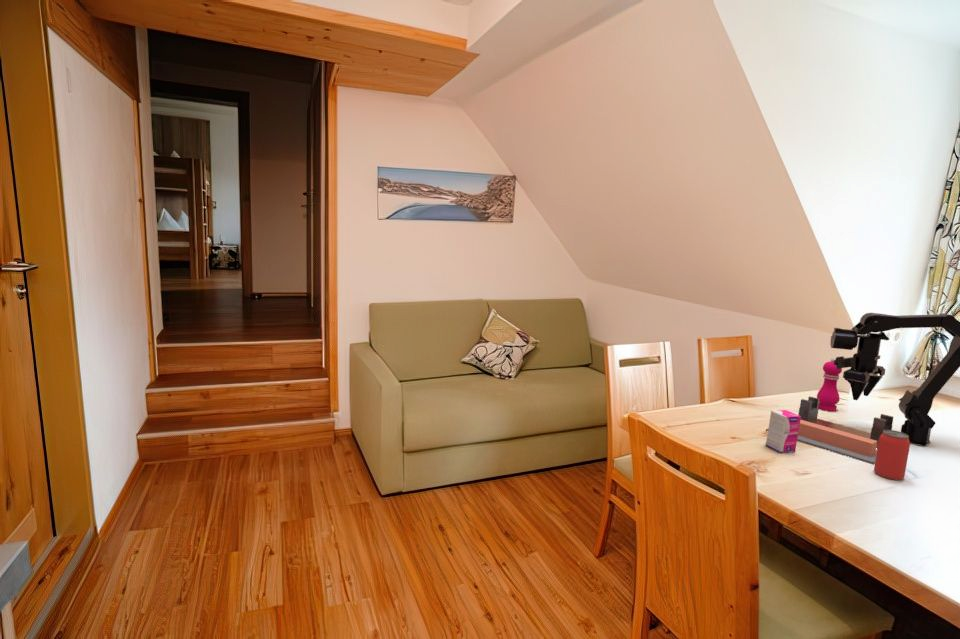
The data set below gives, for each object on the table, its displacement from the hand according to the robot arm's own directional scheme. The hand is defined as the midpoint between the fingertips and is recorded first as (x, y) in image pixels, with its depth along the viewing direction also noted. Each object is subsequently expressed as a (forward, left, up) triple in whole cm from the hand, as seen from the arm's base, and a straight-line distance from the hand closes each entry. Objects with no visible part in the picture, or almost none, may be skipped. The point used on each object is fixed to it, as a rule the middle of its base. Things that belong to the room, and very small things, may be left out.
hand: (860, 397), depth 174 cm
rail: (+2, +20, -11) cm, 23 cm away
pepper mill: (+16, -20, -12) cm, 28 cm away
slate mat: (+2, +20, -12) cm, 23 cm away
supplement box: (+7, +38, -12) cm, 41 cm away
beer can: (-18, +31, -12) cm, 38 cm away
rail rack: (+2, +6, -12) cm, 14 cm away
